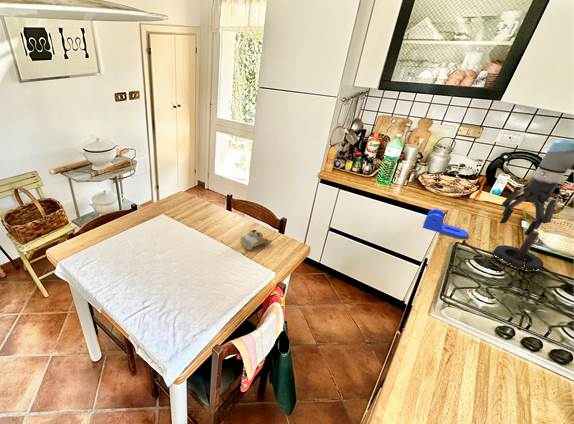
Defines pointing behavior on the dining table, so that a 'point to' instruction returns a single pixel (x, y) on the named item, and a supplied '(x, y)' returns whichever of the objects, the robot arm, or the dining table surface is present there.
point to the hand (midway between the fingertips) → (514, 228)
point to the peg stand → (525, 245)
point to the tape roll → (532, 260)
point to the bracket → (442, 225)
